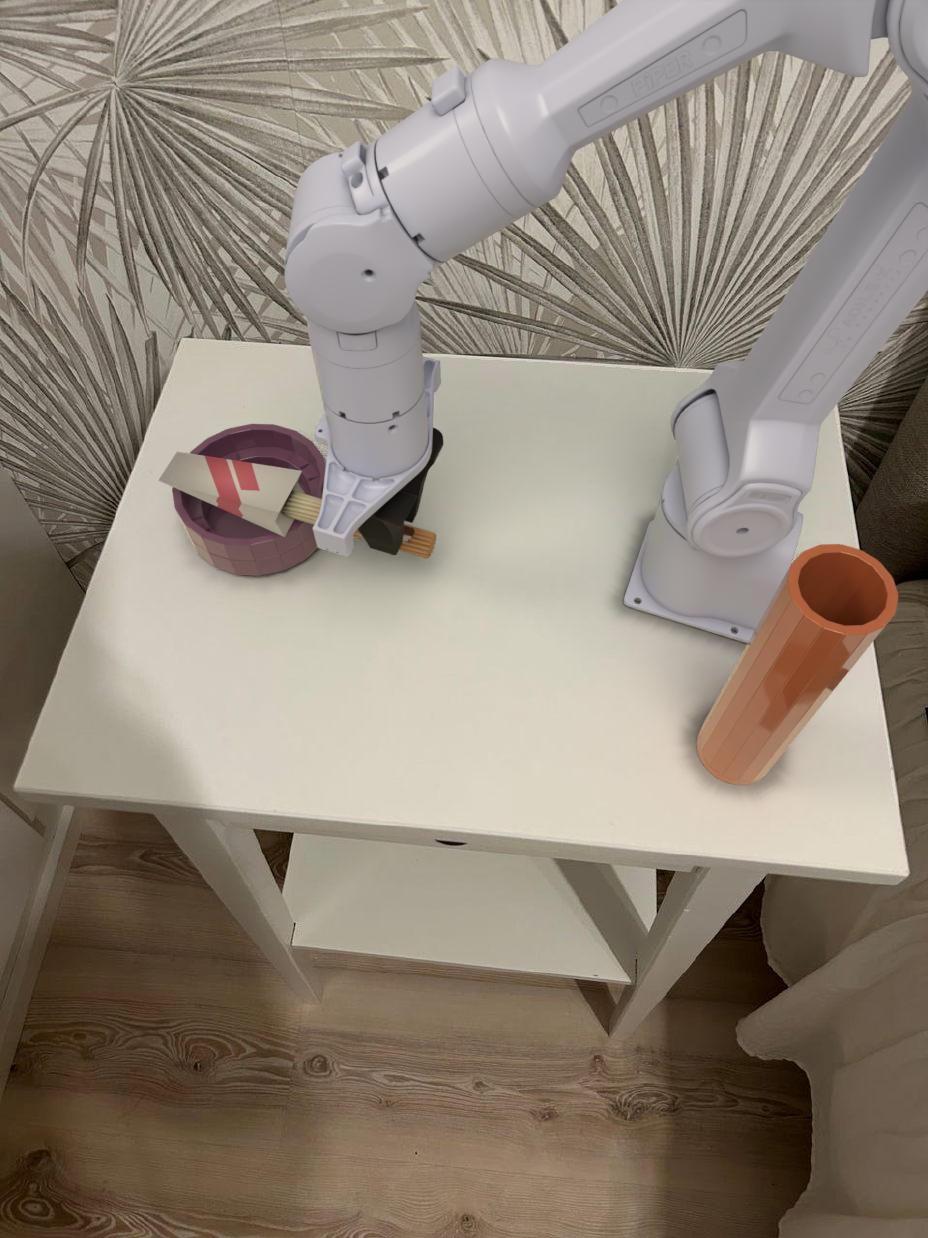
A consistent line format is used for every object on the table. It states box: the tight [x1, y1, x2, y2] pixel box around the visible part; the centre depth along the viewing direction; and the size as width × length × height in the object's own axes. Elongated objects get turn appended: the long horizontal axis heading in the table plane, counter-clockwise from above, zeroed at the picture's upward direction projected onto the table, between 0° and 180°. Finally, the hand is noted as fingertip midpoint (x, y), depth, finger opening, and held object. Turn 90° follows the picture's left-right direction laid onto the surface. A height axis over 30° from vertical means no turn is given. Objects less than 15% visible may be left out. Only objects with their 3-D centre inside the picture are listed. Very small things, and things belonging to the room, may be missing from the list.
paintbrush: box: [157, 451, 437, 560], centre depth 62 cm, size 4×3×20 cm
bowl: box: [171, 423, 326, 576], centre depth 67 cm, size 11×11×4 cm
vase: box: [696, 543, 899, 786], centre depth 50 cm, size 5×5×20 cm
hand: (392, 531), depth 61 cm, fingers closed on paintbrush, 2 cm apart
